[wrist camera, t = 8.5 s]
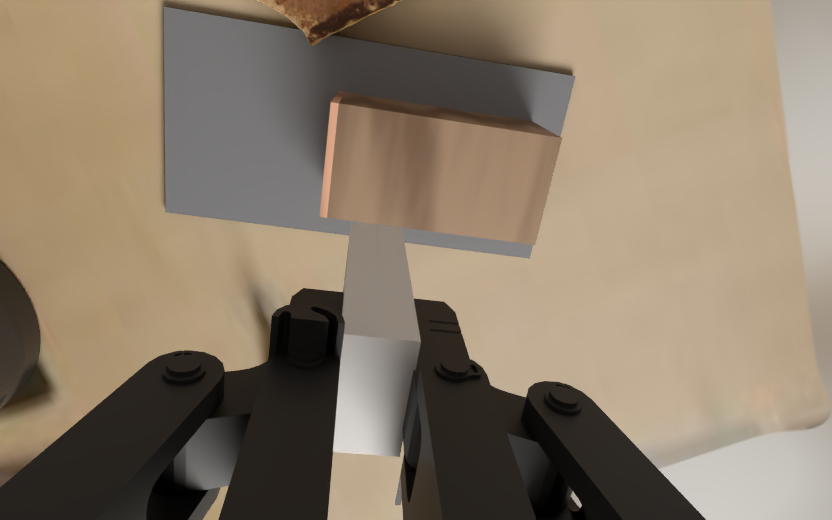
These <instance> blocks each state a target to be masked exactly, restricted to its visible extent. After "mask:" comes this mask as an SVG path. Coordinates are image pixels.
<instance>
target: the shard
mask: <svg viewBox="0 0 832 520" xmlns="http://www.w3.org/2000/svg"><path fill="white" fill-rule="evenodd" d="M256 1H259V2H261V3H264V4H265V5H267V6H269V7H271V8H272V9H274V10H275V11H278V12H279V13H281V14H282V15H284V16H286V17H287V18H288V19H289V20H290V21H292V22H293V23H294V24H295V25H296V26H297V27H298V28H299V29H301V30H302V31H303V32H304V34H305V35H306V37H307V40H308V42H309V43H310V44H311V45H313V46H314V45H316V44H317V43H319V42H320V41H321V40H322V39H325V38H327V37H329V36H330V35H332V34H334V33H336V32H338V31H341V30H343V29H345V28H347V27H350V26H352V25H353V24H355V23H357V22H359V21H361V20H362V19H364V18H366V17H367V16H369V15H373V14H375V13H377V12H379V11H381V10H383V9H385V8H388V7H392V6H394V5H395V4H396V3H398V2H400V1H403V0H256Z"/></svg>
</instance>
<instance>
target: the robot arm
mask: <svg viewBox="0 0 832 520" xmlns="http://www.w3.org/2000/svg"><path fill="white" fill-rule="evenodd" d="M458 324H459V323H458V320H457V317H456V313H455V312H454V311H453V310H452V309H451V308H450V307H449V306H448V305H447V304H446V303H445V302H440V301H431V300H422V299H414V298H413V292H412V286H411V280H410V274H409V268H408V262H407V256H406V250H405V244H404V238H403V232H402V228H398V227H390V226H382V225H374V224H366V223H358V222H351V230H350V238H349V246H348V254H347V263H346V271H345V279H344V288H343V292H334V291H325V290H316V289H306V288H303V289H302V290H300V291H299V292H298V293H296V294H295V295H294V296H292V299H291V302H290V305H286V306H284V307H282V308H280V309H277V310H276V311H275V313H274V314H273V315H272V321H271V335H270V350H269V357H268V360H267V362H265V363H263V364H261V365H259V366H256V367H253V368H250V369H245V370H239V371H229V372H225V371H224V366H223V363H222V362H221V361H220V360H219V359H218V358H216V357H215V356H213V355H210V354H207V353H205V352H198V351H176V352H171V353H168V354H165V355H161V356H159V357H157V358H155V359H153V360H152V361H150V362H148V363H147V364H146V365H145V366H143V367H142V368H141V369H140V370H139V371H138V372H136V373H135V374H134V375H133V376H132V377H130V378H129V379H128V380H127V381H126V382H125V383H123V384H122V385H121V386H120V387H119V388H117V389H116V390H115V391H114V392H113V393H112V394H110V395H109V396H108V397H107V398H106V399H104V400H103V401H102V402H101V403H100V404H99V405H97V406H96V407H95V408H94V409H93V410H91V411H90V412H89V413H88V414H87V415H86V416H84V417H83V418H82V419H81V420H80V421H78V422H77V423H76V424H75V425H74V426H73V427H71V428H70V429H69V430H68V431H67V432H65V433H64V434H63V435H62V436H61V437H59V438H58V439H57V440H56V441H55V442H54V443H52V444H51V445H50V446H49V447H48V448H46V449H45V450H44V451H43V452H42V453H41V454H39V455H38V456H37V457H36V458H35V459H33V460H32V461H31V462H30V463H29V464H28V465H26V466H25V467H24V468H23V469H22V470H20V471H19V472H18V473H17V474H16V475H15V476H13V477H12V478H11V479H10V480H9V481H7V482H6V483H5V484H4V485H3V486H2V487H0V520H202V519H203V518H204V516H205V515H206V513H207V512H208V510H209V509H210V507H211V506H212V504H213V503H214V501H215V500H216V498H217V496H218V493H219V490H220V487H224V486H229V487H228V491H227V494H226V497H225V500H224V504H223V507H222V510H221V513H220V517H219V520H327V516H328V504H329V492H330V480H331V468H332V456H333V452H340V453H355V454H369V455H383V456H398V457H400V452H401V447H402V441H403V443H404V459H403V464H402V469H401V475H400V480H399V485H398V490H397V496H396V501H395V505H401V500H402V506H403V520H706V519H705V518H704V517H703V516H702V515H701V514H700V513H699V512H698V511H697V510H696V509H695V508H694V507H693V506H692V505H691V504H690V502H688V500H687V499H686V498H685V497H684V496H683V495H682V494H681V493H680V492H679V491H678V490H677V489H676V488H675V487H674V486H673V485H672V484H671V483H670V482H669V480H668V479H667V478H666V477H665V476H664V475H663V474H662V473H661V472H660V471H659V470H658V469H657V468H656V467H655V466H654V465H653V464H652V462H651V461H650V460H649V459H648V458H647V457H646V456H645V455H644V454H643V453H642V452H641V451H640V450H639V449H638V448H637V447H636V446H635V445H634V444H633V442H632V441H631V440H630V439H629V438H628V437H627V436H626V435H625V434H624V433H623V432H622V431H621V430H620V429H619V428H618V427H617V426H616V425H615V424H614V422H613V421H612V420H611V419H610V418H609V417H608V416H607V415H606V414H605V413H604V412H603V411H602V410H601V409H600V408H599V407H598V406H597V405H596V404H595V402H594V401H593V400H592V399H590V398H589V397H588V396H587V395H585V394H584V393H583V392H581V391H579V390H577V389H575V388H573V387H572V386H570V385H567V384H562V383H560V382H548V381H543V382H539V383H535V384H533V385H532V386H531V387H530V388H529V389H528V393H527V396H526V398H525V397H522V396H518V395H515V394H511V393H508V392H505V391H502V390H499V389H497V388H495V387H493V386H491V385H490V382H489V379H488V376H487V374H486V373H485V371H484V369H483V368H482V367H481V366H480V365H478V364H477V363H476V362H474V361H473V360H470V359H469V355H468V352H467V349H466V346H465V342H464V339H463V336H462V334H461V329H460V326H459V325H458ZM39 353H40V330H39V325H38V320H37V317H36V314H35V311H34V309H33V306H32V304H31V302H30V300H29V298H28V296H27V294H26V293H25V291H24V289H23V288H22V286H21V285H20V284H19V282H18V281H17V280H16V278H15V277H14V276H13V275H12V274H11V272H10V271H9V270H8V269H7V268H6V267H5V266H4V265H3V264H2V263H1V262H0V409H1V408H2V407H3V406H4V405H5V404H6V403H7V402H8V401H9V400H10V399H11V398H12V397H13V396H14V395H15V394H16V393H17V392H18V391H19V390H20V389H21V388H22V387H23V386H24V385H25V384H26V383H27V381H28V380H29V378H30V377H31V375H32V373H33V371H34V369H35V367H36V364H37V361H38V358H39ZM572 491H573V492H574V493H575V494H576V496H577V497H578V498H579V500H580V502H581V504H582V507H581V508H579V507H578V506H577V505H576V503H575V502H574V500H573V499H572V498H571V494H572Z"/></svg>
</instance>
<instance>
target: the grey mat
mask: <svg viewBox="0 0 832 520" xmlns="http://www.w3.org/2000/svg"><path fill="white" fill-rule="evenodd" d="M574 80H575V76H571V75H565V74H559V73H554V72H548V71H542V70H536V69H530V68H524V67H518V66H512V65H506V64H500V63H494V62H488V61H483V60H477V59H471V58H465V57H459V56H453V55H447V54H441V53H435V52H429V51H423V50H417V49H411V48H406V47H400V46H394V45H388V44H382V43H376V42H370V41H364V40H358V39H352V38H346V37H340V36H335V35H330V36H329V37H327V38H325V39H322V40H321V41H320V42H319V43H317V44H316V45H314V46H313V45H311V44H310V43H309V42H308V40H307V37H306V35H305V34H304V32H303V31H302V30H299V29H293V28H287V27H281V26H275V25H269V24H264V23H258V22H252V21H246V20H240V19H234V18H228V17H222V16H216V15H210V14H204V13H198V12H193V11H187V10H181V9H175V8H169V7H164V98H165V204H166V212H169V213H177V214H185V215H192V216H200V217H208V218H216V219H224V220H232V221H240V222H247V223H255V224H263V225H271V226H279V227H287V228H295V229H302V230H310V231H318V232H326V233H334V234H342V235H350V230H351V222H355V221H347V220H340V219H332V218H324V217H319V216H320V206H321V196H322V186H323V175H324V165H325V155H326V145H327V135H328V124H329V114H330V104H331V101H332V100H333V98H334V97H335V95H336V94H337V93H338V91H343V92H349V93H356V94H362V95H368V96H375V97H381V98H387V99H394V100H400V101H406V102H413V103H419V104H425V105H432V106H438V107H444V108H451V109H457V110H463V111H470V112H476V113H483V114H489V115H495V116H502V117H508V118H514V119H521V120H527V121H533V122H534V123H536V124H538V125H540V126H542V127H543V128H545V129H547V130H549V131H550V132H552V133H554V134H556V135H558V136H559V137H560V135H561V131H562V127H563V123H564V119H565V115H566V111H567V107H568V103H569V100H570V96H571V92H572V88H573V84H574ZM358 223H363V222H358ZM366 224H370V223H366ZM374 225H378V224H374ZM382 226H386V225H382ZM390 227H393V226H390ZM398 228H401V227H398ZM402 232H403V238H404V242H405V243H412V244H420V245H428V246H436V247H444V248H452V249H460V250H467V251H475V252H483V253H491V254H499V255H507V256H515V257H523V258H530V254H531V250H532V246H533V245H532V244H524V243H516V242H509V241H501V240H493V239H485V238H478V237H470V236H462V235H455V234H447V233H439V232H432V231H424V230H416V229H409V228H402Z"/></svg>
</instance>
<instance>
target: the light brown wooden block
mask: <svg viewBox="0 0 832 520" xmlns="http://www.w3.org/2000/svg"><path fill="white" fill-rule="evenodd" d="M561 140H562V138H561V137H559V136H558V135H556V134H554V133H552V132H550V131H549V130H547V129H545V128H543V127H542V126H540V125H538V124H536V123H534V122H533V121H527V120H521V119H514V118H508V117H502V116H495V115H489V114H483V113H476V112H470V111H463V110H457V109H451V108H444V107H438V106H432V105H425V104H419V103H413V102H406V101H400V100H394V99H387V98H381V97H375V96H368V95H362V94H356V93H349V92H343V91H338V93H337V94H336V95H335V97H334V98H333V100H332V101H331V104H330V114H329V124H328V135H327V145H326V155H325V165H324V175H323V186H322V196H321V206H320V216H319V217H324V218H332V219H340V220H347V221H355V222H363V223H370V224H378V225H386V226H393V227H401V228H409V229H416V230H424V231H432V232H439V233H447V234H455V235H462V236H470V237H478V238H485V239H493V240H501V241H509V242H516V243H524V244H532V245H535V243H536V239H537V235H538V231H539V227H540V223H541V219H542V215H543V211H544V207H545V203H546V199H547V195H548V191H549V187H550V183H551V180H552V176H553V172H554V168H555V164H556V160H557V156H558V152H559V148H560V144H561Z"/></svg>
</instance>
